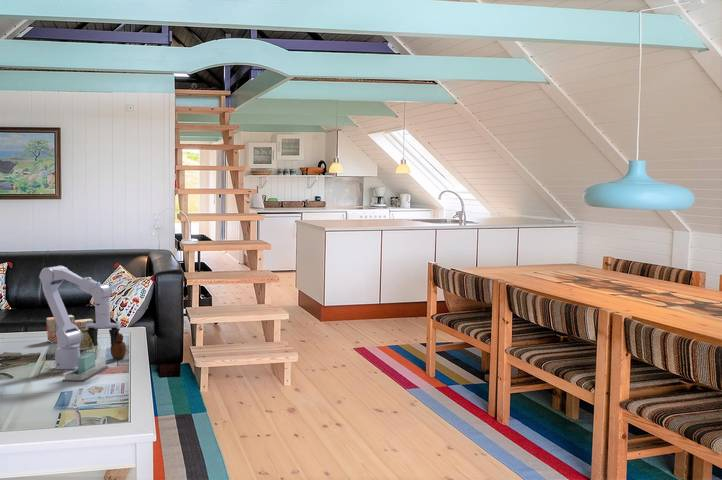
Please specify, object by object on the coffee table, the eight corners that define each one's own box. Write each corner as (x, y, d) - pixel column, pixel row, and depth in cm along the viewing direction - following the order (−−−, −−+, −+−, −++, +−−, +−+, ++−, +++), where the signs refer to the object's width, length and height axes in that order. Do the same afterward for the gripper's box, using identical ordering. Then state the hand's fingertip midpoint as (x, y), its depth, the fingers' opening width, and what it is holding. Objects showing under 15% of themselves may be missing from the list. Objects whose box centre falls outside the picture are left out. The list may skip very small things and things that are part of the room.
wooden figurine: (120, 360, 322) (119, 327, 321) (108, 360, 323) (107, 326, 322) (128, 356, 328) (127, 324, 327) (116, 356, 330) (115, 323, 328)
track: (62, 381, 289) (62, 375, 288) (88, 367, 310) (87, 361, 310) (84, 381, 288) (83, 375, 287) (108, 367, 310) (108, 361, 309)
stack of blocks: (91, 336, 377) (90, 312, 376) (94, 338, 371) (93, 314, 370) (47, 341, 365) (46, 317, 364) (49, 343, 360) (48, 319, 359)
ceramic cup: (69, 350, 345) (67, 329, 344) (84, 345, 354) (83, 325, 353) (90, 351, 340) (89, 330, 339) (105, 347, 349) (104, 326, 348)
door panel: (78, 375, 295) (77, 358, 295) (88, 369, 304) (87, 353, 304) (85, 375, 295) (84, 358, 295) (95, 369, 304) (94, 353, 303)
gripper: (81, 315, 300) (83, 347, 301) (115, 315, 299) (116, 347, 300) (89, 312, 307) (91, 343, 308) (122, 312, 306) (123, 343, 307)
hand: (104, 345), depth 305 cm, fingers open, 7 cm apart
